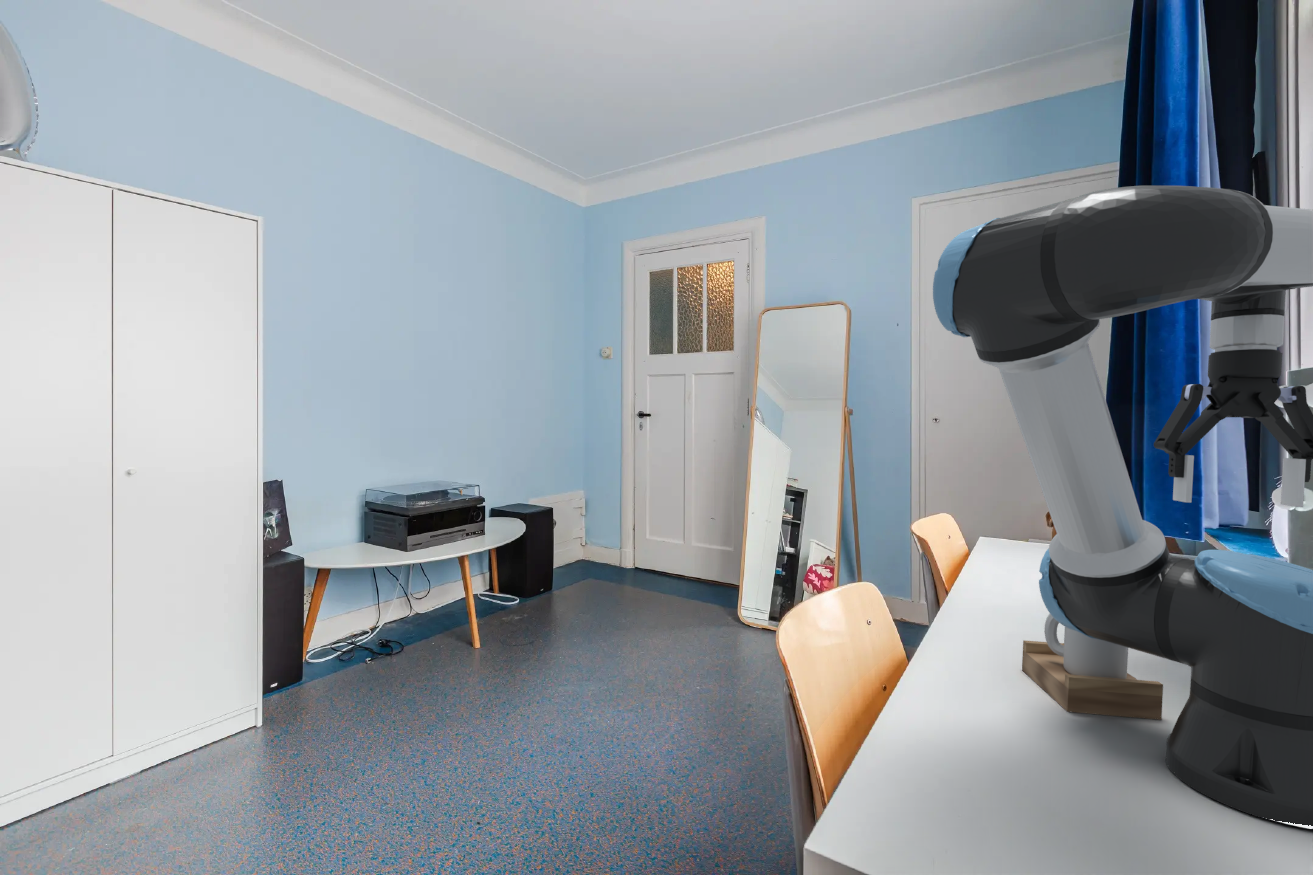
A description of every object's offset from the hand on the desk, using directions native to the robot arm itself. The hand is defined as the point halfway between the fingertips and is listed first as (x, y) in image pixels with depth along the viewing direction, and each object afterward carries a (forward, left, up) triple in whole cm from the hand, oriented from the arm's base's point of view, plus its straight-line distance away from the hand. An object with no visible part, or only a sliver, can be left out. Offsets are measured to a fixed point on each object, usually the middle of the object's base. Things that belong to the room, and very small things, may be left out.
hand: (1236, 503), depth 89 cm
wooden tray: (-4, +20, -27) cm, 34 cm away
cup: (-4, +21, -24) cm, 32 cm away
